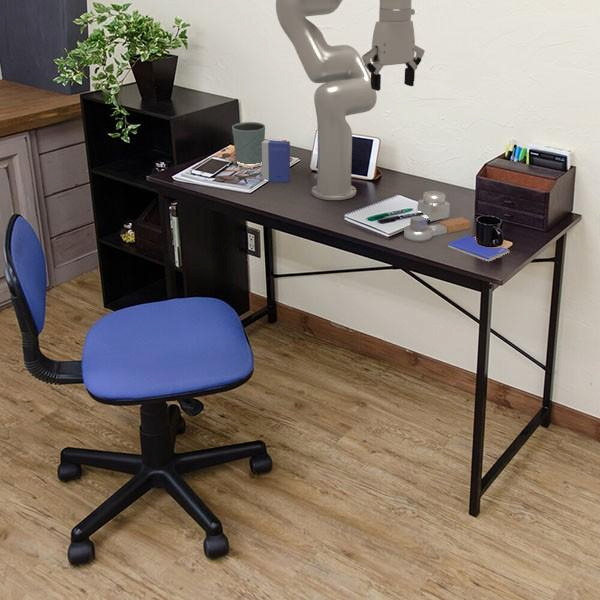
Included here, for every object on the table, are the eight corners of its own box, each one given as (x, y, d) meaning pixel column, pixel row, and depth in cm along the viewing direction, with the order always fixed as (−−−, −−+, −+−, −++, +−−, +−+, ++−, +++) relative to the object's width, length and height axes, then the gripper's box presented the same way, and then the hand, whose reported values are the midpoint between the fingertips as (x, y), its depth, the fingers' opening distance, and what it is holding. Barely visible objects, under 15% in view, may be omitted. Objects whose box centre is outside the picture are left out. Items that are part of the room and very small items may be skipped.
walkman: (290, 179, 273) (289, 140, 268) (288, 182, 270) (287, 142, 265) (264, 178, 274) (263, 138, 269) (262, 181, 272) (261, 141, 267)
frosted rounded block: (417, 214, 247) (418, 193, 244) (435, 210, 250) (436, 189, 247) (430, 221, 242) (431, 199, 240) (448, 217, 245) (450, 196, 242)
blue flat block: (509, 249, 223) (469, 234, 232) (488, 257, 218) (448, 243, 227) (509, 255, 224) (468, 240, 232) (488, 263, 219) (447, 248, 227)
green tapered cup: (265, 169, 282) (264, 130, 277) (232, 169, 282) (231, 130, 276) (266, 159, 291) (265, 121, 286) (233, 159, 291) (232, 121, 286)
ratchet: (457, 222, 242) (458, 204, 240) (473, 230, 237) (475, 212, 235) (398, 234, 234) (399, 216, 232) (414, 244, 229) (415, 225, 227)
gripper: (416, 10, 227) (413, 81, 234) (355, 16, 220) (354, 88, 227) (434, 14, 221) (430, 86, 228) (372, 20, 214) (370, 94, 221)
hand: (392, 87), depth 228 cm, fingers open, 9 cm apart
